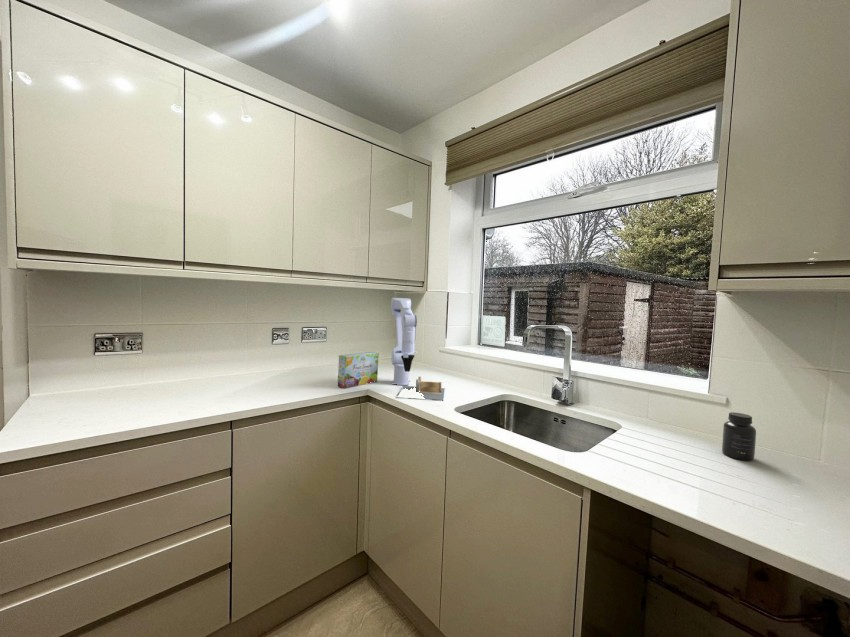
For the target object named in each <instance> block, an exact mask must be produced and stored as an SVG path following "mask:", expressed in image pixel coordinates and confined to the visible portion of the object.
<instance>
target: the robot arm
mask: <svg viewBox="0 0 850 637" xmlns="http://www.w3.org/2000/svg"><path fill="white" fill-rule="evenodd" d="M390 301H391V302H390V310H391V311H390V312H391V315H392V316H393V317H394V319H395V332H396V346H395V347H394V348H393V349H392V351H391V359H390V360H391V364H392V366H394V368H393V382H392V383H391V385H392V384H397V385H396V386H409V384H410V383H411V380H409V372H410V371H411V368H412V364H413V360H414V358H415V355H414V354H418V351H417V350H415V348H416V347H415V346H416V345H415V344H416V341H415V340H416V328H417V326H418V325H417V324H418V318H417V314H414V312H413V311H412V300H411V298H410V297H408V298H406V297H405V298H402V297H392V298H391V300H390ZM409 382H410V383H409Z"/></svg>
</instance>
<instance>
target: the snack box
mask: <svg viewBox="0 0 850 637" xmlns="http://www.w3.org/2000/svg"><path fill="white" fill-rule="evenodd" d="M379 355H380V354H379V352H376V351H375V352H374V351H368V352H367V351H366V352H356V353H348V354H347V353H346V354H340V355H338V370H337V371H338V372H337V387H339V388H342V389H349V388H352V387H357V386H358V385H359V386H362V384H363V385H367V384H366V383H368V384H371V383H370V382H373V383H375V382H374V381H377V382H378V376H379V375H378V374H379V373H378V372H379V371H378V370H379Z"/></svg>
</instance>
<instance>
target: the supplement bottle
mask: <svg viewBox="0 0 850 637" xmlns="http://www.w3.org/2000/svg"><path fill="white" fill-rule="evenodd" d="M727 418H728V420H727V421H725V422H724V423H723V426H722V427H723V430H722V431H723V432H722V445H721V452H722V454H723V455H725V456H726V457H728V458H731V459H734V460H737V461H743V462H752V461H754V460H755V457H756V456H755V455H756V454H755V453H756V441H757V440H756V439H757V429H756V428H755V427H754V426H753V425H752V424H753V416H751V415H749V414H746V413H741V412H734V411H731V412H729V413H728V417H727Z"/></svg>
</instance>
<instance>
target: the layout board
mask: <svg viewBox="0 0 850 637" xmlns="http://www.w3.org/2000/svg"><path fill="white" fill-rule="evenodd" d="M420 381H422V377H421V376H418V379H417V378H416V379H415V386H410V385H402V387H403V389H405V388H406V389H408V390H410V389H411V388H412V389H413V388H414V387H415V388H416V392H419V391H420ZM419 393H422V394H423V395H424V396H423V397H424V398H425V399H432V400H431V401H438V400H442V402H443V401H444V397H445V387H443V388H442V387H441V393H436V392H419ZM421 396H422V395H421Z"/></svg>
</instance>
